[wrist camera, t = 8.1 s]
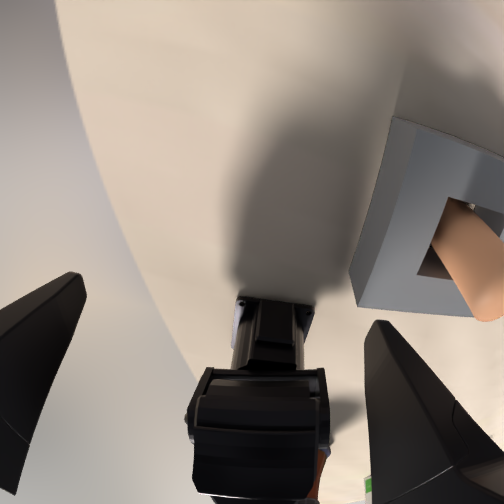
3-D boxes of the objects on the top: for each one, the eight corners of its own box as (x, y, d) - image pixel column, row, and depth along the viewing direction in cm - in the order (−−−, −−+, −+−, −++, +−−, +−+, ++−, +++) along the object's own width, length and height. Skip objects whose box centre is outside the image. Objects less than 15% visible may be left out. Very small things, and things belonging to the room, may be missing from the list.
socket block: (466, 287, 23) (483, 318, 20) (348, 271, 23) (357, 307, 20) (519, 165, 17) (549, 185, 13) (392, 116, 17) (417, 128, 13)
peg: (451, 242, 21) (504, 322, 14) (411, 234, 21) (459, 320, 14) (470, 197, 19) (537, 268, 11) (428, 185, 19) (495, 258, 11)
